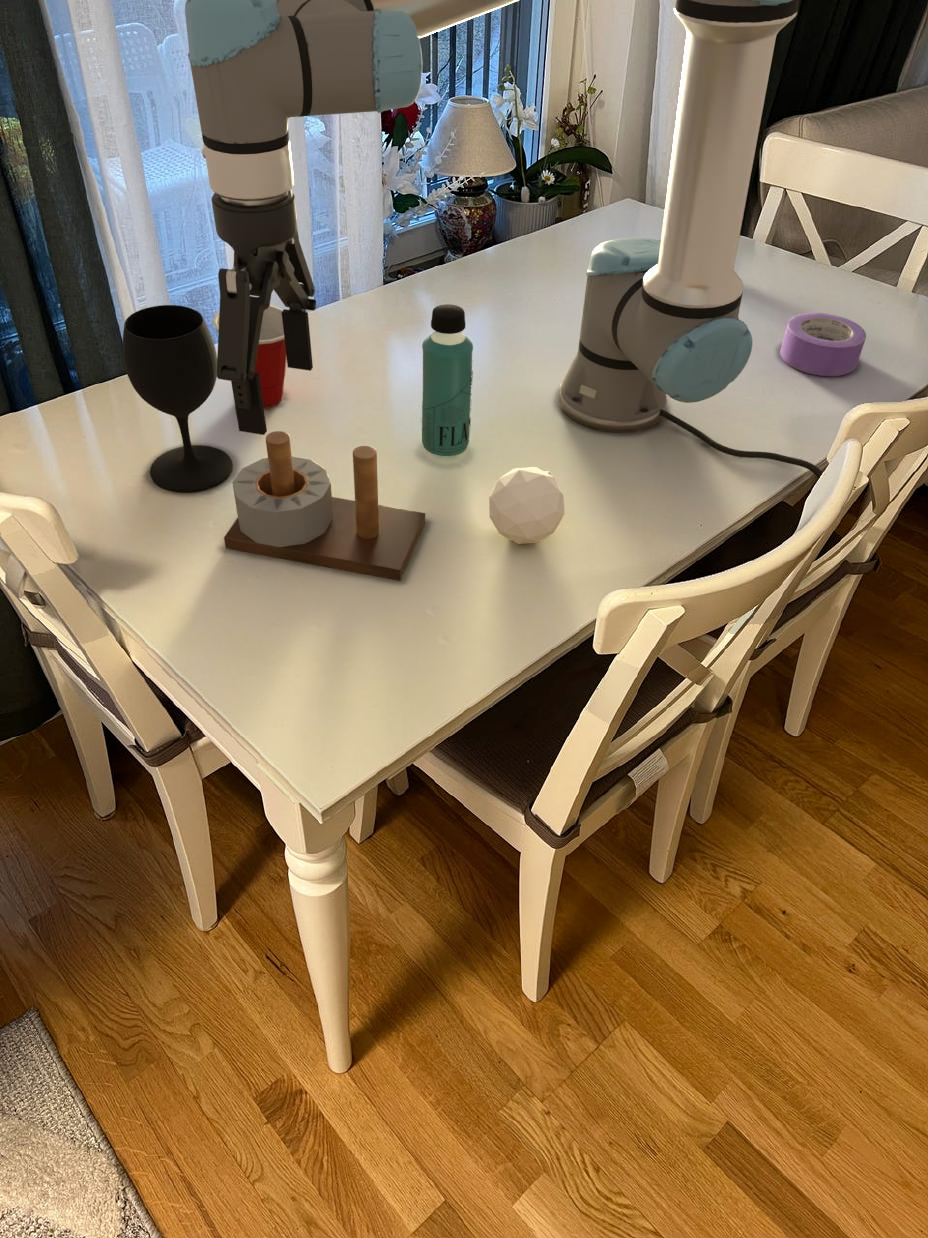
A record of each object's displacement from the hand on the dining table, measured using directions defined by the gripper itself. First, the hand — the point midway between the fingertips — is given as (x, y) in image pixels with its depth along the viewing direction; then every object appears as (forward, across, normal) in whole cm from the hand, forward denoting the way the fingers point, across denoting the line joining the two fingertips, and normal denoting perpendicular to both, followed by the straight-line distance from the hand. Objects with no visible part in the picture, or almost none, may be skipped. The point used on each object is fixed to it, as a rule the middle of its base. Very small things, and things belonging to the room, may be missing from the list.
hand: (277, 398), depth 100 cm
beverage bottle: (+18, -20, +14) cm, 30 cm away
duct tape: (+16, 0, -1) cm, 16 cm away
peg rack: (+17, 0, +4) cm, 18 cm away
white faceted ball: (+18, -7, +28) cm, 34 cm away
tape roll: (+18, -63, +64) cm, 92 cm away
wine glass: (+17, -8, -16) cm, 25 cm away
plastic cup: (+18, -26, -14) cm, 35 cm away
